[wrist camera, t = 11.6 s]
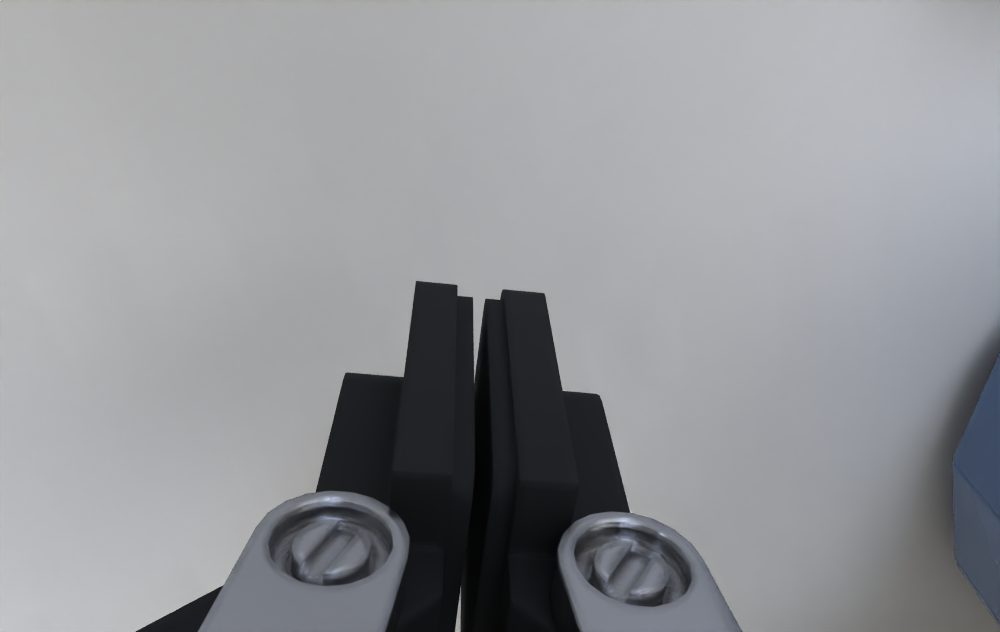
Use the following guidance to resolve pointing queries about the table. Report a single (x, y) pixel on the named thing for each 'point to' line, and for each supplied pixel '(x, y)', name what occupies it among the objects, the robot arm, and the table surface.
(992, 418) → the bowl
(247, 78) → the table surface
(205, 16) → the table surface
